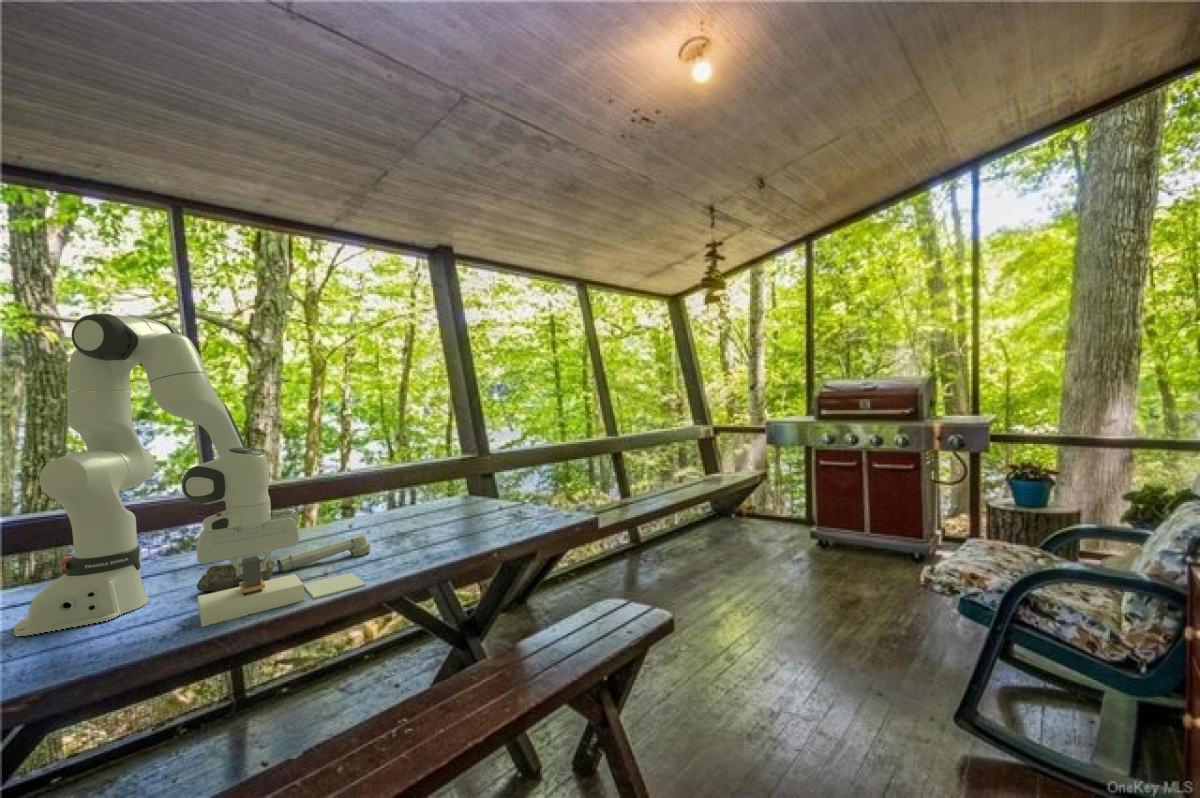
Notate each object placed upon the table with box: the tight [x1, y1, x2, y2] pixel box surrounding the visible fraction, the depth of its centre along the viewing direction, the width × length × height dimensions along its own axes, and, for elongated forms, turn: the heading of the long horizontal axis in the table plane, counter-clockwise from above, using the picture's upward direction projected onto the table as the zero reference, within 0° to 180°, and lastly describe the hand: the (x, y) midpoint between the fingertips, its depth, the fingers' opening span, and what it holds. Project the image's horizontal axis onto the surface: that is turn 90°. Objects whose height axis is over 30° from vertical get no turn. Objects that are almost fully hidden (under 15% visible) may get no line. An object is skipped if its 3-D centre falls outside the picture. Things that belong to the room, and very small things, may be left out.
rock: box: [196, 558, 275, 592], centre depth 139 cm, size 17×7×10 cm
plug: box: [238, 554, 265, 596], centre depth 124 cm, size 4×6×11 cm
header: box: [197, 573, 305, 628], centre depth 124 cm, size 20×10×4 cm, turn 131°
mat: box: [303, 572, 367, 600], centre depth 136 cm, size 12×12×1 cm
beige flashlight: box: [276, 534, 371, 573], centre depth 157 cm, size 5×7×25 cm
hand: (251, 572), depth 124 cm, fingers closed on plug, 3 cm apart
